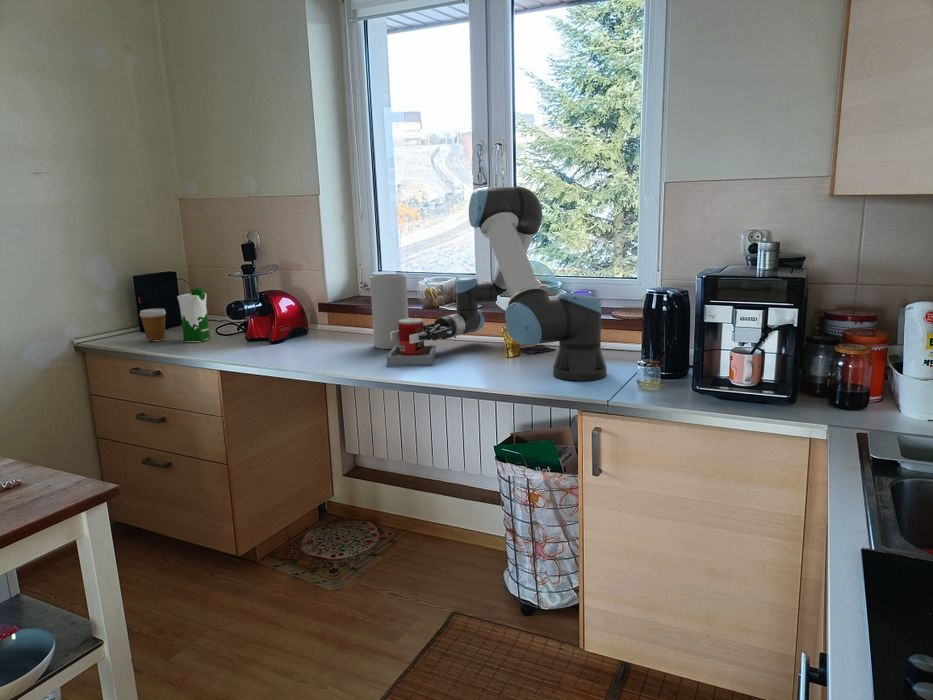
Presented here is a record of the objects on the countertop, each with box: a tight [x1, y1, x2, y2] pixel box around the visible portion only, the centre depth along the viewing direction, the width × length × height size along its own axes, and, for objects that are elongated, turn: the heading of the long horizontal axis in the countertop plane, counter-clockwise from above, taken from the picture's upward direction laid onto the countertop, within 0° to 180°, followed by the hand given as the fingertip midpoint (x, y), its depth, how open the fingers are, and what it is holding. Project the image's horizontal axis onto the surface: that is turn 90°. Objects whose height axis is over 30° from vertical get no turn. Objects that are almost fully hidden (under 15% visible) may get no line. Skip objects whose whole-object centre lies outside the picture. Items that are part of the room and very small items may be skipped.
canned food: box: [398, 317, 425, 356], centre depth 222 cm, size 8×8×11 cm
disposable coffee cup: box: [138, 307, 167, 341], centre depth 267 cm, size 10×10×12 cm
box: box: [386, 344, 437, 367], centre depth 223 cm, size 16×14×3 cm
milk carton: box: [176, 287, 211, 342], centre depth 263 cm, size 9×9×20 cm
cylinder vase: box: [369, 273, 409, 350], centre depth 242 cm, size 12×12×25 cm
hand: (400, 337), depth 218 cm, fingers closed on canned food, 8 cm apart
